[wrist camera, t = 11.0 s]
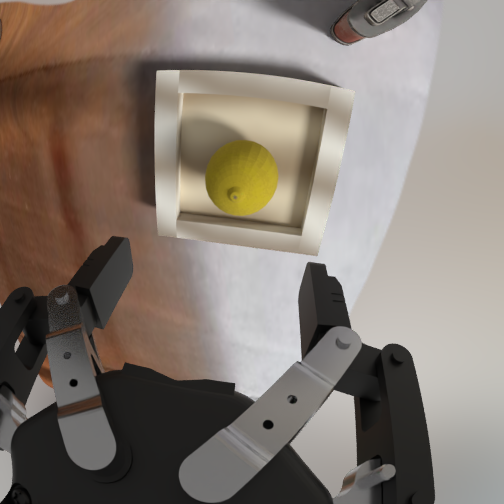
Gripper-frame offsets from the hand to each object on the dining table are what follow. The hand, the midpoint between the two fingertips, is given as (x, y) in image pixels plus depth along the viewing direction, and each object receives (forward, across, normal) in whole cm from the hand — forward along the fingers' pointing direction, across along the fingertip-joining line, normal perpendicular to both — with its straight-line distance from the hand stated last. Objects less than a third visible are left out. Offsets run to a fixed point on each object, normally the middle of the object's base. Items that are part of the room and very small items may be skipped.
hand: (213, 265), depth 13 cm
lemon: (+15, 0, 0) cm, 15 cm away
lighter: (+19, -9, -16) cm, 26 cm away
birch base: (+19, 0, 0) cm, 19 cm away
